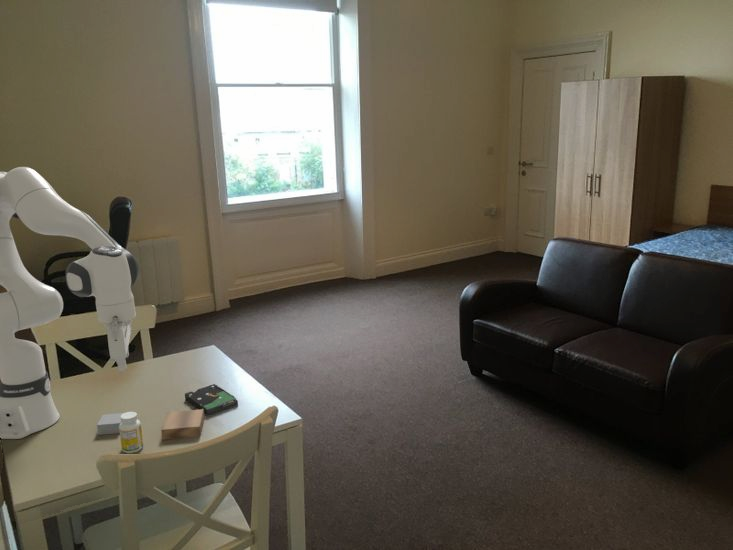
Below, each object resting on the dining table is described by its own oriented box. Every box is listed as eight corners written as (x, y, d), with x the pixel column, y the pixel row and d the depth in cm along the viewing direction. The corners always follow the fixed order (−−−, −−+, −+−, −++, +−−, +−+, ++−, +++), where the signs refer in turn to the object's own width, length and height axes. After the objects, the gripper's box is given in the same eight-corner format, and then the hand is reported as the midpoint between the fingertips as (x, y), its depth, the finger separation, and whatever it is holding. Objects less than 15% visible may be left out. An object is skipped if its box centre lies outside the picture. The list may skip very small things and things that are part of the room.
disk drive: (184, 402, 186) (207, 418, 175) (183, 393, 185) (206, 409, 174) (215, 391, 192) (239, 406, 182) (214, 383, 192) (238, 397, 181)
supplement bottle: (132, 455, 156) (128, 421, 153) (117, 451, 158) (112, 418, 155) (148, 445, 160) (143, 412, 158) (132, 441, 162) (128, 408, 160)
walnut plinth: (162, 439, 163) (161, 429, 162) (168, 421, 172) (167, 412, 172) (200, 436, 164) (199, 426, 163) (204, 418, 174) (203, 409, 173)
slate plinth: (98, 434, 166) (96, 425, 165) (104, 424, 172) (102, 414, 171) (121, 432, 167) (119, 423, 166) (126, 422, 173) (125, 412, 172)
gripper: (127, 321, 142) (135, 376, 145) (132, 299, 161) (138, 348, 164) (98, 325, 140) (107, 380, 144) (106, 302, 159) (114, 351, 163)
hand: (124, 363), depth 154 cm, fingers open, 8 cm apart
